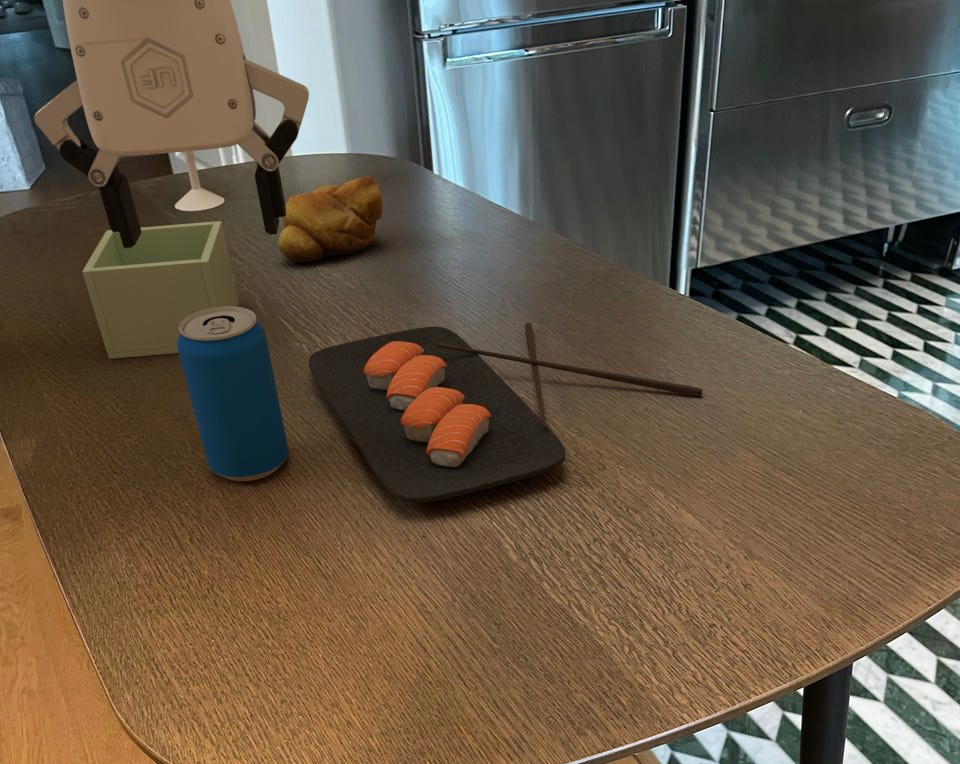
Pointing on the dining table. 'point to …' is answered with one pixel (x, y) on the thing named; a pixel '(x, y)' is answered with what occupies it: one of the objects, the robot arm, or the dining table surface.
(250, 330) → the beverage can
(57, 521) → the dining table surface
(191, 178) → the champagne flute
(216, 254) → the trash bin
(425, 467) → the sushi plate
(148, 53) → the robot arm
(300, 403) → the dining table surface
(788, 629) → the dining table surface
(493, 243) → the dining table surface
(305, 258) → the bread roll
